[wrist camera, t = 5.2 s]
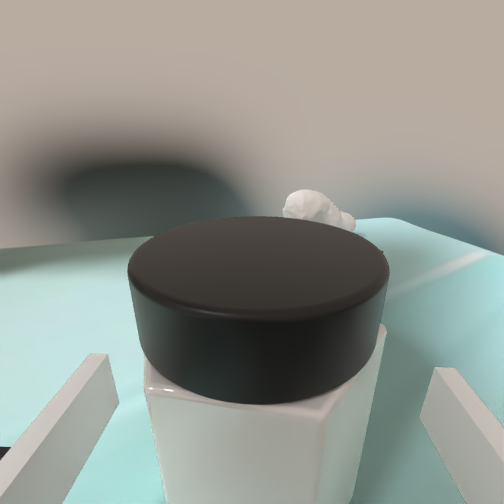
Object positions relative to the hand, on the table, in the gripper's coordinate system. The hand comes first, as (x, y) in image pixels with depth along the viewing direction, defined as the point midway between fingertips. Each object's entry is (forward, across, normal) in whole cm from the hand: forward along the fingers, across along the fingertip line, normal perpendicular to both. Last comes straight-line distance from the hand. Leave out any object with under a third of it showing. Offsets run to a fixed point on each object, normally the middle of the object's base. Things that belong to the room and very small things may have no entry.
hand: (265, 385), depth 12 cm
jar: (0, 0, -6) cm, 6 cm away
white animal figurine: (+34, +8, -6) cm, 35 cm away
